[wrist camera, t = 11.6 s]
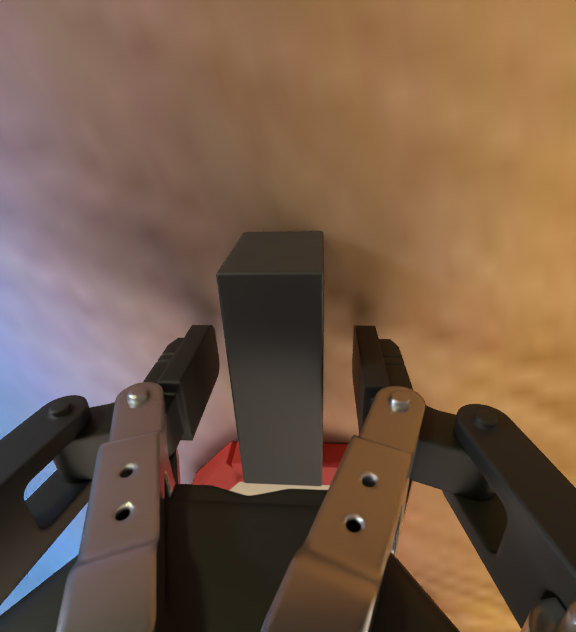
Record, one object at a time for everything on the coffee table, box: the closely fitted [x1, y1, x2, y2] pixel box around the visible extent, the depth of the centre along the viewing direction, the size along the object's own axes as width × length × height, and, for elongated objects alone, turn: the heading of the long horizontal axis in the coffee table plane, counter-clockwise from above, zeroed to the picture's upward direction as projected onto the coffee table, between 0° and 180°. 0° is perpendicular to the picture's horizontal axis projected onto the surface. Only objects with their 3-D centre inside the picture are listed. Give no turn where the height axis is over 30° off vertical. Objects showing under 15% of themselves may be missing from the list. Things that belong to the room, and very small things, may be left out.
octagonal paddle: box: [192, 231, 348, 496], centre depth 16 cm, size 22×10×4 cm, turn 2°
